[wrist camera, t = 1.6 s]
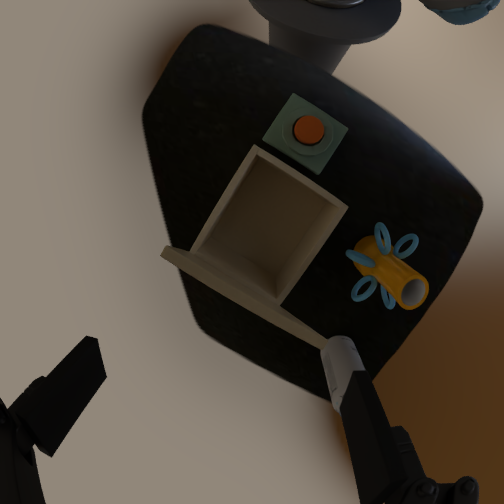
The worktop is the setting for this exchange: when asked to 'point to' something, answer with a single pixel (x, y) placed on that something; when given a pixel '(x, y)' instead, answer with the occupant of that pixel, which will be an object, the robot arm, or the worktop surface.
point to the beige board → (242, 295)
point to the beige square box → (268, 226)
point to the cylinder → (388, 270)
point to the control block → (304, 154)
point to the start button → (309, 130)
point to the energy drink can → (340, 366)
